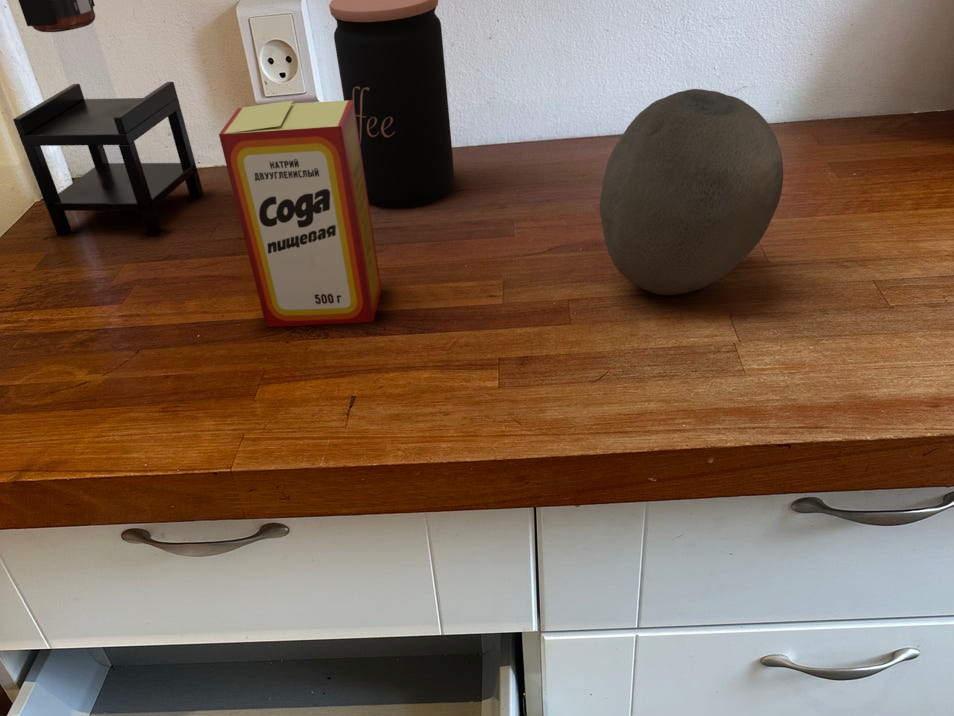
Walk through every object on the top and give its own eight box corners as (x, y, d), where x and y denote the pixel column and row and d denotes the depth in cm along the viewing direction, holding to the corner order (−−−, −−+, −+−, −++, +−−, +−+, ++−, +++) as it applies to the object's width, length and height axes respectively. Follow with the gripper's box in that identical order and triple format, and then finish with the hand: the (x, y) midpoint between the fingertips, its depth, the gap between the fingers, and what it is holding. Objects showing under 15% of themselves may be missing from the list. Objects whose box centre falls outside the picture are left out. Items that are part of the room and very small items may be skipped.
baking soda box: (381, 288, 87) (352, 94, 76) (372, 321, 82) (340, 120, 71) (280, 294, 88) (236, 103, 76) (266, 327, 83) (217, 129, 72)
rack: (57, 235, 102) (12, 119, 94) (110, 193, 111) (73, 83, 103) (157, 236, 100) (120, 117, 92) (204, 194, 108) (173, 81, 100)
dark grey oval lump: (668, 340, 76) (682, 138, 66) (568, 281, 85) (566, 95, 75) (799, 290, 81) (833, 94, 70) (691, 239, 90) (706, 59, 79)
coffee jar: (344, 188, 106) (313, -2, 93) (430, 166, 109) (411, -21, 96) (381, 218, 99) (352, 17, 86) (472, 193, 102) (457, -4, 89)
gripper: (-91, -347, 65) (42, 41, 81) (56, -344, 78) (145, -9, 94) (-181, -336, 66) (-33, 43, 83) (-23, -334, 79) (78, -7, 96)
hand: (61, 15), depth 88 cm, fingers closed on supplement bottle, 6 cm apart
